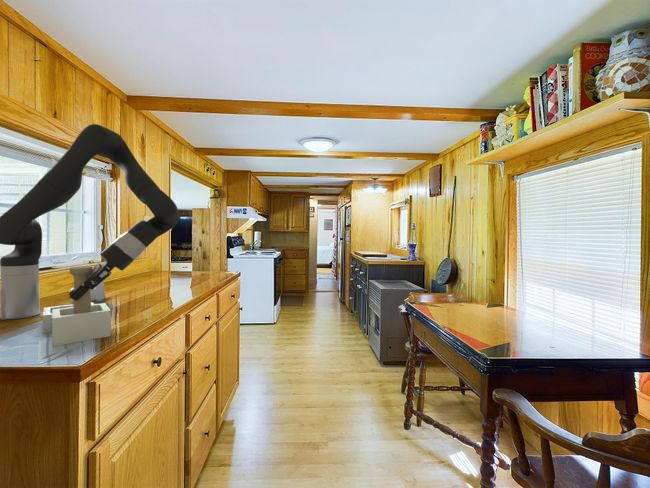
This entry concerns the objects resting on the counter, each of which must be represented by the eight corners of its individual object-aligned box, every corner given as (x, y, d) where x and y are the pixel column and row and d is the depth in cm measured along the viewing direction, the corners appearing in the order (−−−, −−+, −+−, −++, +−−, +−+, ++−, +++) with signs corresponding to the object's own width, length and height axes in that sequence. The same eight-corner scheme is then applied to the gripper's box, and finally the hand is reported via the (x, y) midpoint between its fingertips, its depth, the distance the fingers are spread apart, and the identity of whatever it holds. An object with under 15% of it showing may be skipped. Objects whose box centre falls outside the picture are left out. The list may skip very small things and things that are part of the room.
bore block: (43, 333, 87) (43, 315, 87) (44, 323, 96) (43, 307, 96) (96, 325, 95) (96, 308, 95) (92, 317, 104) (92, 302, 104)
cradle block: (52, 346, 77) (52, 318, 77) (52, 334, 86) (52, 309, 86) (111, 335, 85) (110, 310, 85) (105, 326, 94) (105, 303, 94)
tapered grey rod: (94, 338, 109) (93, 301, 104) (95, 300, 127) (94, 267, 122) (106, 336, 110) (105, 300, 105) (105, 299, 129) (104, 267, 124)
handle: (94, 317, 89) (92, 265, 89) (93, 322, 84) (91, 267, 84) (72, 320, 87) (71, 266, 86) (70, 325, 81) (68, 269, 81)
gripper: (109, 241, 95) (58, 285, 87) (116, 242, 84) (59, 293, 77) (130, 257, 98) (83, 301, 91) (139, 261, 88) (86, 310, 80)
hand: (72, 297), depth 84 cm, fingers closed on handle, 3 cm apart
